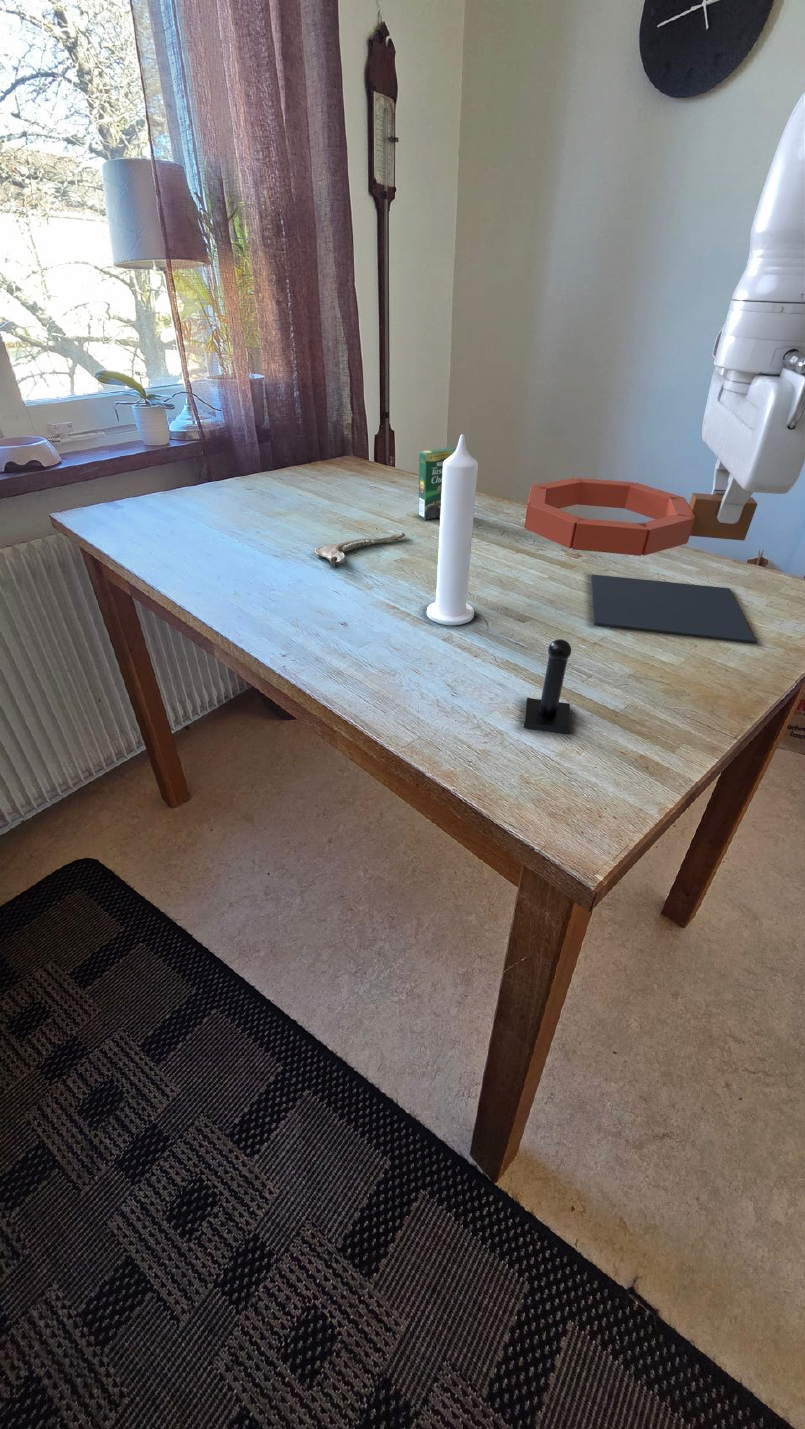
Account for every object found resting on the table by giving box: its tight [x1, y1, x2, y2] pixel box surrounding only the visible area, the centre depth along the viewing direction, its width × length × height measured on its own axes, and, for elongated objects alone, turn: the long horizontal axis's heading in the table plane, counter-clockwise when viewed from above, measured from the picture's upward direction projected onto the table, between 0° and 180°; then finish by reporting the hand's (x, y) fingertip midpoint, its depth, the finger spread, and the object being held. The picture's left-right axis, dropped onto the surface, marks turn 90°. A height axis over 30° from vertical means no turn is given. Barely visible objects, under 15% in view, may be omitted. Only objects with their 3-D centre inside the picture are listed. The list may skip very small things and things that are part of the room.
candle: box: [426, 433, 479, 626], centre depth 83 cm, size 7×7×25 cm
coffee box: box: [417, 446, 457, 521], centre depth 123 cm, size 8×3×13 cm, turn 118°
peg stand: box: [523, 638, 572, 735], centre depth 66 cm, size 5×5×10 cm
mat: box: [590, 574, 757, 644], centre depth 93 cm, size 22×18×1 cm
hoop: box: [524, 477, 758, 557], centre depth 59 cm, size 21×15×4 cm
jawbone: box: [313, 532, 406, 568], centre depth 110 cm, size 9×20×2 cm, turn 147°
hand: (721, 515), depth 57 cm, fingers closed on hoop, 2 cm apart
